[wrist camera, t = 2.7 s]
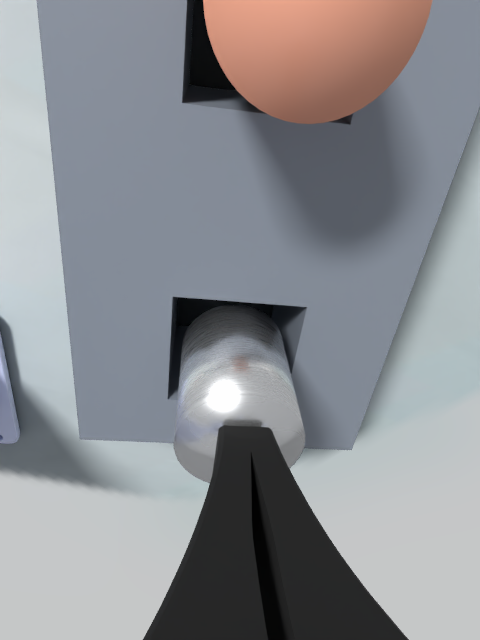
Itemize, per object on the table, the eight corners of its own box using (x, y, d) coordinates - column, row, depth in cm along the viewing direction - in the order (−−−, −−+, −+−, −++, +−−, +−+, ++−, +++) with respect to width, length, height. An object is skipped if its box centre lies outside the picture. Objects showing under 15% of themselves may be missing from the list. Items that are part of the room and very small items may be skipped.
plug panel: (104, 360, 21) (79, 439, 17) (77, -225, 11) (0, -376, 7) (325, 373, 23) (351, 449, 19) (474, -142, 13) (606, -231, 8)
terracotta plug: (199, 85, 11) (194, 110, 8) (211, -103, 9) (214, -195, 6) (335, 103, 12) (394, 135, 8) (373, -74, 10) (474, -141, 6)
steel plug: (179, 383, 17) (170, 484, 13) (185, 300, 15) (177, 391, 11) (273, 388, 17) (291, 488, 13) (290, 308, 15) (318, 398, 11)
